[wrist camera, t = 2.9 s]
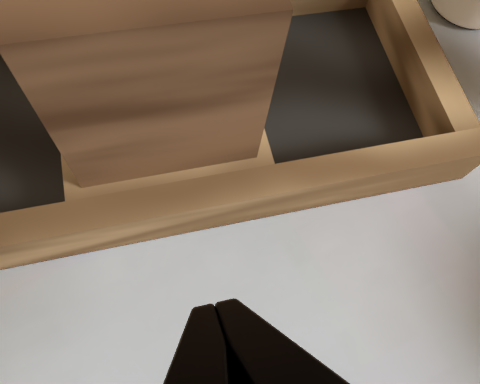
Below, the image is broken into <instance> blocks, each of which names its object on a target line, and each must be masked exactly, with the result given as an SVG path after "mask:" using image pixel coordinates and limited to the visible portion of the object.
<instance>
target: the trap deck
mask: <svg viewBox="0 0 480 384" xmlns="http://www.w3.org/2000/svg"><path fill="white" fill-rule="evenodd" d="M290 1H291V4H292V7H293V9H294V10H293V14H292V18H291V22H290V26H289V30H288V34H287V38H286V42H285V46H284V50H283V54H282V58H281V62H280V66H279V70H278V74H277V78H276V82H275V86H274V90H273V94H272V98H271V103H270V107H269V111H268V115H267V119H266V123H265V127H264V131H263V135H262V139H261V143H260V147H259V151H258V155H257V158H251V159H245V160H239V161H234V162H228V163H222V164H217V165H211V166H205V167H199V168H194V169H188V170H182V171H176V172H171V173H165V174H159V175H154V176H148V177H142V178H136V179H131V180H125V181H119V182H113V183H108V184H102V185H96V186H91V187H85V188H81V186H80V184H79V183H78V181H77V179H76V178H75V176H74V174H73V173H72V171H71V170H70V168H69V166H68V165H67V163H66V161H65V160H64V158H63V156H62V155H61V153H60V151H59V150H58V148H57V146H56V145H55V143H54V142H53V140H52V138H51V137H50V135H49V133H48V132H47V130H46V128H45V127H44V125H43V123H42V122H41V120H40V118H39V117H38V115H37V114H36V112H35V110H34V109H33V107H32V105H31V104H30V102H29V100H28V99H27V97H26V95H25V94H24V92H23V90H22V89H21V87H20V86H19V84H18V82H17V81H16V79H15V77H14V76H13V74H12V72H11V71H10V69H9V67H8V66H7V64H6V62H5V61H4V59H3V58H2V56H1V54H0V270H2V269H7V268H12V267H17V266H22V265H27V264H32V263H37V262H42V261H47V260H52V259H57V258H62V257H67V256H72V255H77V254H82V253H87V252H92V251H98V250H103V249H108V248H113V247H118V246H123V245H128V244H133V243H138V242H143V241H148V240H153V239H158V238H163V237H168V236H173V235H178V234H183V233H188V232H193V231H198V230H203V229H209V228H214V227H219V226H224V225H229V224H234V223H239V222H244V221H249V220H254V219H259V218H264V217H269V216H274V215H279V214H284V213H289V212H294V211H299V210H304V209H309V208H314V207H320V206H325V205H330V204H335V203H340V202H345V201H350V200H355V199H360V198H365V197H370V196H375V195H380V194H385V193H390V192H395V191H400V190H405V189H410V188H415V187H420V186H425V185H431V184H436V183H441V182H446V181H451V180H456V179H461V178H463V177H464V176H466V175H467V174H468V173H469V172H471V171H472V170H473V169H474V168H476V167H477V166H478V165H480V123H479V121H478V119H477V117H476V115H475V113H474V111H473V109H472V107H471V105H470V103H469V101H468V99H467V97H466V96H465V94H464V92H463V90H462V88H461V86H460V84H459V82H458V80H457V78H456V76H455V74H454V72H453V70H452V68H451V66H450V64H449V62H448V60H447V58H446V56H445V54H444V52H443V50H442V48H441V46H440V44H439V43H438V41H437V39H436V37H435V35H434V33H433V31H432V29H431V27H430V25H429V23H428V21H427V19H426V17H425V15H424V13H423V11H422V9H421V7H420V5H419V3H418V1H417V0H290Z"/></svg>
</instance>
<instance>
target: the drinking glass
mask: <svg viewBox="0 0 480 384" xmlns="http://www.w3.org/2000/svg"><path fill="white" fill-rule="evenodd" d="M431 1H432V4H433V6H434V7H435V9H436V10H437V11H438V13H439V14H440V15H441V16H443V17H444V18H445V19H446V20H448V21H450V22H451V23H453V24H455V25H458V26H461V27H464V28H470V29H480V0H431Z"/></svg>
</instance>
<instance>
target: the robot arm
mask: <svg viewBox="0 0 480 384" xmlns="http://www.w3.org/2000/svg"><path fill="white" fill-rule="evenodd" d="M163 384H350V383H348V382H347V381H346V380H344V379H343V378H342V377H340V376H339V375H338V374H336V373H335V372H333V371H332V370H331V369H329V368H328V367H327V366H325V365H324V364H323V363H321V362H320V361H319V360H317V359H316V358H315V357H313V356H312V355H311V354H309V353H308V352H307V351H305V350H304V349H303V348H301V347H300V346H299V345H297V344H296V343H295V342H293V341H292V340H291V339H289V338H288V337H287V336H285V335H284V334H283V333H281V332H280V331H279V330H277V329H276V328H275V327H273V326H272V325H271V324H269V323H268V322H267V321H265V320H264V319H263V318H261V317H260V316H259V315H257V314H256V313H255V312H253V311H252V310H251V309H249V308H248V307H247V306H245V305H244V304H243V303H241V302H240V301H238V300H237V299H229V300H225V301H220V302H217V303H216V304H215V306H214V305H213V304H207V305H202V306H198V307H194V308H193V309H192V311H191V313H190V316H189V318H188V321H187V323H186V326H185V329H184V331H183V334H182V336H181V339H180V341H179V344H178V347H177V349H176V352H175V354H174V357H173V360H172V362H171V365H170V367H169V370H168V373H167V375H166V378H165V380H164V383H163Z"/></svg>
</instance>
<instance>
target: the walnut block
mask: <svg viewBox="0 0 480 384" xmlns="http://www.w3.org/2000/svg"><path fill="white" fill-rule="evenodd" d="M293 10H294V9H293V7H292V4H291V1H290V0H0V54H1V56H2V58H3V59H4V61H5V62H6V64H7V66H8V67H9V69H10V71H11V72H12V74H13V76H14V77H15V79H16V81H17V82H18V84H19V86H20V87H21V89H22V90H23V92H24V94H25V95H26V97H27V99H28V100H29V102H30V104H31V105H32V107H33V109H34V110H35V112H36V114H37V115H38V117H39V118H40V120H41V122H42V123H43V125H44V127H45V128H46V130H47V132H48V133H49V135H50V137H51V138H52V140H53V142H54V143H55V145H56V146H57V148H58V150H59V151H60V153H61V155H62V156H63V158H64V160H65V161H66V163H67V165H68V166H69V168H70V170H71V171H72V173H73V174H74V176H75V178H76V179H77V181H78V183H79V184H80V186H81V188H85V187H91V186H96V185H102V184H108V183H113V182H119V181H125V180H131V179H136V178H142V177H148V176H154V175H159V174H165V173H171V172H176V171H182V170H188V169H194V168H199V167H205V166H211V165H217V164H222V163H228V162H234V161H239V160H245V159H251V158H257V155H258V151H259V147H260V143H261V139H262V135H263V131H264V127H265V123H266V119H267V115H268V111H269V107H270V103H271V98H272V94H273V90H274V86H275V82H276V78H277V74H278V70H279V66H280V62H281V58H282V54H283V50H284V46H285V42H286V38H287V34H288V30H289V26H290V22H291V18H292V14H293Z"/></svg>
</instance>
